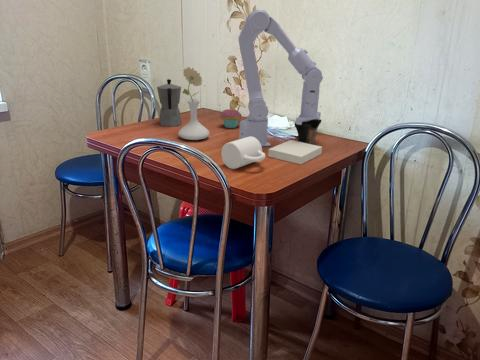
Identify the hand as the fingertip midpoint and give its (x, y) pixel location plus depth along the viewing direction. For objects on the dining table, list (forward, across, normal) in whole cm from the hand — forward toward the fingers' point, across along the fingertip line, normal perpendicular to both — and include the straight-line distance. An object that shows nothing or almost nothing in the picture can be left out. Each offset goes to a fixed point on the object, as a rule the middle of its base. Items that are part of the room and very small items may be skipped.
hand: (306, 140), depth 150 cm
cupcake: (+2, +2, +36) cm, 36 cm away
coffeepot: (+2, -12, +56) cm, 57 cm away
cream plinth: (+1, -13, -3) cm, 14 cm away
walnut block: (+2, 0, 0) cm, 2 cm away
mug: (+2, -32, +3) cm, 32 cm away
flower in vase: (+2, -20, +36) cm, 41 cm away
